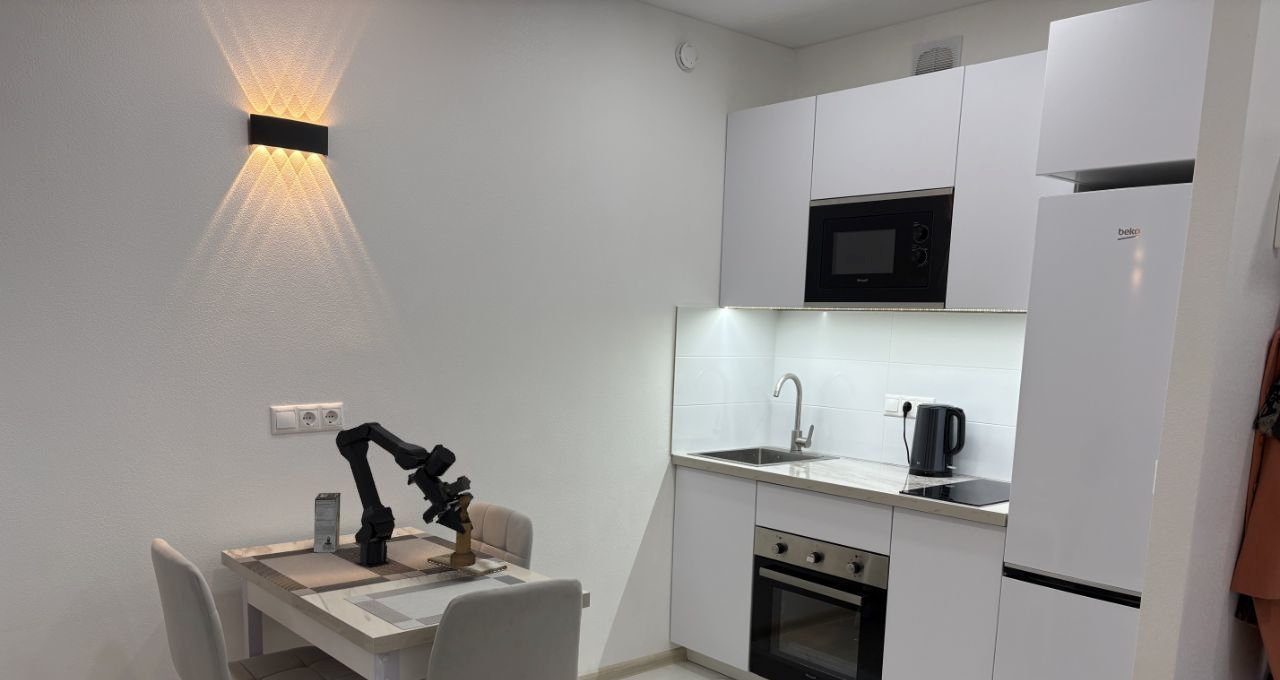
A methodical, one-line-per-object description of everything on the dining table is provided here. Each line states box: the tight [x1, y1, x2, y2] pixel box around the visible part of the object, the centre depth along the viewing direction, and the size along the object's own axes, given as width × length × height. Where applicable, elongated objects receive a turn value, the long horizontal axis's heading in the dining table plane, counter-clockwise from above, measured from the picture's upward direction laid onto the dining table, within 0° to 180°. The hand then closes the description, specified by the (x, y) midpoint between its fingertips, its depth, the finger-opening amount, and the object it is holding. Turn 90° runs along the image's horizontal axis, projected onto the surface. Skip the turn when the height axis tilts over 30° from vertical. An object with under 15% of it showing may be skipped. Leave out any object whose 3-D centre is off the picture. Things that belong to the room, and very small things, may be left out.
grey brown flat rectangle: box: [426, 552, 508, 577], centre depth 240 cm, size 10×22×1 cm, turn 50°
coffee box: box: [313, 492, 342, 553], centre depth 255 cm, size 9×6×16 cm
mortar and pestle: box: [450, 495, 476, 567], centre depth 226 cm, size 7×6×18 cm
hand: (468, 531), depth 226 cm, fingers closed on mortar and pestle, 4 cm apart
